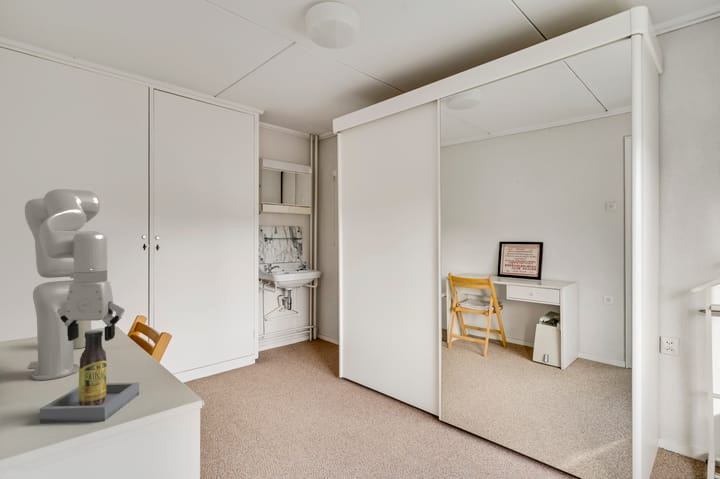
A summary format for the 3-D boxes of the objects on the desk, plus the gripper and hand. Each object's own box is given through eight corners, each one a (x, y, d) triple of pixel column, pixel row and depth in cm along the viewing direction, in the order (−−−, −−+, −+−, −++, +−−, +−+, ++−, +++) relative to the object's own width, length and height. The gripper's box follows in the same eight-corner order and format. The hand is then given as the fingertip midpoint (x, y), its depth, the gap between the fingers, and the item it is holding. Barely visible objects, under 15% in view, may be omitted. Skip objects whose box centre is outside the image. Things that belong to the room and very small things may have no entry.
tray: (40, 422, 95) (39, 409, 95) (83, 395, 111) (83, 383, 111) (104, 420, 96) (104, 407, 96) (139, 394, 112) (139, 382, 112)
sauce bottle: (84, 411, 99) (83, 336, 99) (74, 405, 102) (72, 332, 102) (111, 401, 105) (110, 330, 104) (101, 396, 108) (99, 327, 108)
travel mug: (82, 349, 156) (81, 306, 156) (63, 349, 157) (62, 306, 156) (96, 343, 164) (95, 302, 164) (78, 343, 165) (77, 302, 164)
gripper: (47, 279, 99) (48, 343, 99) (114, 279, 99) (115, 343, 100) (68, 275, 106) (69, 335, 107) (130, 276, 107) (131, 335, 108)
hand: (91, 339), depth 103 cm, fingers open, 9 cm apart
